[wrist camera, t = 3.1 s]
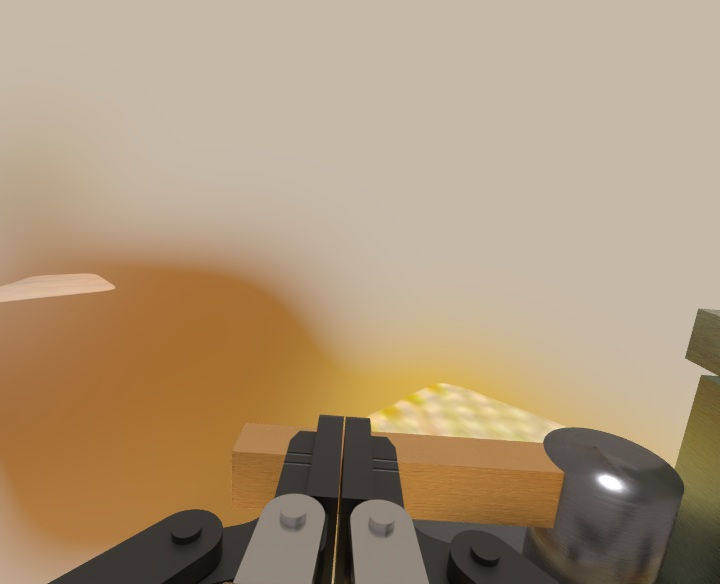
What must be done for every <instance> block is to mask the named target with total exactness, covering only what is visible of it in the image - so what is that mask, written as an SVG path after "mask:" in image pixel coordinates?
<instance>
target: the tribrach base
mask: <svg viewBox="0 0 720 584" xmlns="http://www.w3.org/2000/svg"><path fill="white" fill-rule="evenodd" d="M685 358H686V359H688V360H690V361H691V362H693V363H696V364H697V365H699V366H701V367H703V368H705V369H707V370H709V371H710V372H713V373H714V374H716V375H718V376H707V375H701V377H700V381H699V384H698V388H697V392H696V395H695V399H694V402H693V406H692V409H691V413H690V416H689V420H688V423H687V427H686V430H685V434H684V438H683V441H682V445H681V448H680V452H679V455H678V459H677V462H676V466H675V469H674V470H675V471H676V472H677V473H678V474H679V476H680V477H681V479H682V481H683V483H684V488H685V490H684V494H683V498H682V501H681V505H680V508H679V512H678V515H677V518H676V522H675V525H674V529H673V532H672V536H671V539H670V542H669V546H668V549H667V553H666V556H665V559H664V563H663V566H662V570H661V573H660V577H659V580H658V583H657V584H720V310H710V309H698V312H697V316H696V320H695V323H694V327H693V331H692V334H691V338H690V342H689V346H688V349H687V353H686V357H685ZM412 521H413V525H414V526H415V527H416V528H417V529H418V530H420V531H421V532H423V533H424V534H426V535H428V536H430V537H433V538H436V539H439V540H442V541H445V542H448V543H451V541H452V539H453V538H454V537H455V536H456V535H457V534H458V533H460V532H463V531H466V530H479V531H484V532H488V533H490V534H493V535H495V536H497V537H499V538H500V539H502V540H503V541H504V542H506V543H507V544H508V545H510V546H511V547H512V548H514V549H515V550H516V551H518V552H519V553H520V554H521V553H522V548H523V543H524V538H525V533H526V528H527V526H513V525H497V524H481V523H466V522H450V521H434V520H418V519H412Z"/></svg>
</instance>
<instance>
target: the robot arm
mask: <svg viewBox="0 0 720 584" xmlns="http://www.w3.org/2000/svg"><path fill="white" fill-rule="evenodd" d="M343 421H344V416H331V415H320V416H319V421H318V427H317V432H313V431H299V432H298V433H297V434H296V435H295V436H294V437H293V438H292V439H291V440H290V442H289V446H288V449H287V454H286V457H285V460H284V464H283V467H282V471H281V475H280V478H279V482H278V486H277V489H276V493H275V497H274V499H273V500H271V501H270V502H269V503H268V504H267V505H266V506H265V507H264V509H263V511H262V513H261V515H260V517H259V518H257V519H255V520H253V521H251V522H248V523H245V524H241V525H236V526H231V527H226V528H223V526H222V522H221V521H220V519H219V518H218V517H217V516H216V515H215V514H213V513H211V512H209V511H205V510H198V509H195V510H186V511H182V512H178V513H175V514H173V515H171V516H169V517H167V518H165V519H163V520H162V521H160V522H158V523H156V524H154V525H153V526H151V527H149V528H147V529H145V530H144V531H142V532H140V533H138V534H136V535H135V536H133V537H131V538H129V539H127V540H126V541H124V542H122V543H120V544H118V545H117V546H115V547H113V548H111V549H109V550H108V551H106V552H104V553H103V554H100V555H99V556H97V557H95V558H93V559H91V560H89V561H88V562H86V563H84V564H82V565H80V566H79V567H77V568H75V569H73V570H71V571H70V572H68V573H66V574H64V575H63V576H61V577H59V578H57V579H55V580H53V581H52V582H50V583H48V584H331V581H332V570H333V558H334V547H335V535H336V524H337V512H338V501H339V512H338V529H337V545H336V563H335V578H334V584H560V583H558V582H557V581H556V580H554V579H553V578H552V577H551V576H549V575H548V574H547V573H545V572H544V571H543V570H541V569H540V568H539V567H537V566H536V565H535V564H533V563H532V562H531V561H529V560H528V559H527V558H526V557H524V556H523V555H522V554H520V553H519V552H518V551H516V550H515V549H514V548H512V547H511V546H510V545H508V544H507V543H506V542H504V541H503V540H502V539H500V538H499V537H497V536H495V535H493V534H490V533H488V532H484V531H479V530H466V531H463V532H460V533H458V534H457V535H456V536H455V537H454V538H453V539H452V541H451V543H448V542H445V541H442V540H439V539H436V538H433V537H430V536H428V535H426V534H424V533H423V532H421V531H420V530H418V529H417V528H416V527H415V526H414V525H413V521H412V519H411V517H410V515H409V514H408V513H407V511H406V510H405V508H404V501H403V494H402V487H401V481H400V474H399V467H398V462H397V454H396V448H395V446H394V445H393V444H392V443H391V441H390V440H389V439H388V438H387V437H381V436H371V424H370V418H358V417H346V422H345V432H344V444H343V455H342V467H341V454H342V438H343ZM340 470H341V480H340ZM339 486H340V496H339Z"/></svg>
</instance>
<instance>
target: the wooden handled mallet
mask: <svg viewBox="0 0 720 584" xmlns="http://www.w3.org/2000/svg"><path fill="white" fill-rule="evenodd" d="M299 431H313V432H317V428H311V427H296V426H281V425H266V424H251V423H245V425H244V427H243V429H242V431H241V433H240V436H239V438H238V440H237V442H236V444H235V446H234V448H233V450H232V508H244V509H260V510H263V509H264V507H265V506H266V505H267V504H268V503H269V502H270V501H271V500H273V499H274V497H275V493H276V489H277V486H278V482H279V478H280V475H281V471H282V467H283V464H284V460H285V457H286V454H287V449H288V446H289V442H290V440H291V439H292V438H293V437H294V436H295V435H296V434H297V433H298V432H299ZM344 432H345V430H343V438H342V454H341V467H342V455H343V444H344ZM371 436H381V437H387V438H388V439H389V440H390V441H391V443H392V444H393V445H394V446H395V448H396V454H397V462H398V467H399V474H400V481H401V487H402V494H403V501H404V508H405V510H406V511H407V513H408V514H409V515H410V517H411V519H418V520H434V521H450V522H466V523H481V524H497V525H513V526H527V528H526V533H525V538H524V543H523V548H522V553H521V554H522V555H523V556H524V557H526V558H527V559H528V560H529V561H531V562H532V563H533V564H535V565H536V566H537V567H539V568H540V569H541V570H543V571H544V572H545V573H547V574H548V575H549V576H551V577H552V578H553V579H554V580H556V581H557V582H558V583H560V584H657V583H658V580H659V577H660V573H661V570H662V566H663V563H664V559H665V556H666V553H667V549H668V546H669V542H670V539H671V536H672V532H673V529H674V525H675V522H676V518H677V515H678V512H679V508H680V505H681V501H682V498H683V494H684V490H685V488H684V483H683V481H682V479H681V477H680V476H679V474H678V473H677V472H676V471H675V470H674V469H673V468H672V467H671V466H670V465H669V464H668V463H667V462H666V461H664V460H663V459H662V458H660V457H659V456H657V455H656V454H654V453H653V452H651V451H649V450H648V449H646V448H644V447H642V446H640V445H638V444H636V443H634V442H631V441H629V440H627V439H624V438H622V437H619V436H616V435H613V434H610V433H606V432H602V431H597V430H593V429H587V428H573V427H572V428H561V429H557V430H554V431H552V432H550V433H549V434H547V435H546V437H545V439H544V442H543V443H535V442H520V441H505V440H490V439H475V438H460V437H445V436H430V435H415V434H401V433H386V432H371ZM340 480H341V470H340ZM339 496H340V486H339ZM338 512H339V501H338ZM338 512H337V514H338Z"/></svg>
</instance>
